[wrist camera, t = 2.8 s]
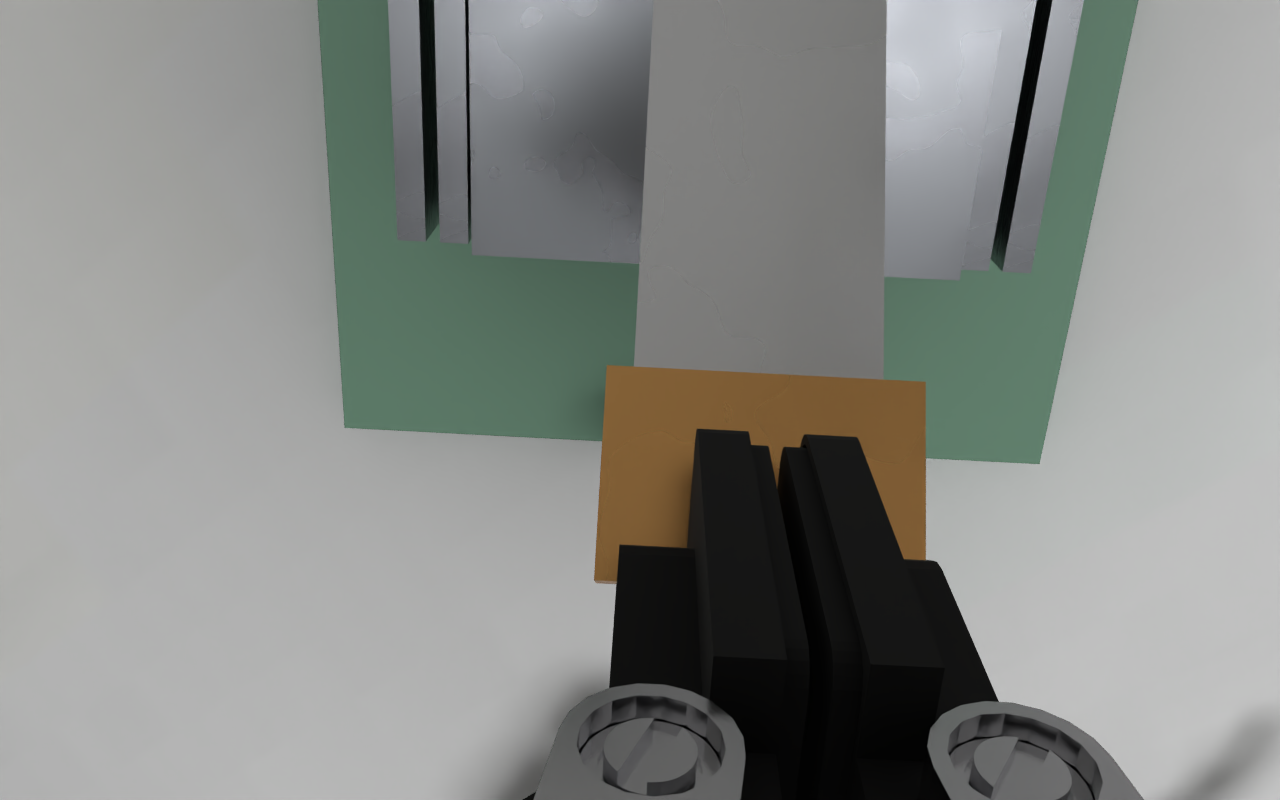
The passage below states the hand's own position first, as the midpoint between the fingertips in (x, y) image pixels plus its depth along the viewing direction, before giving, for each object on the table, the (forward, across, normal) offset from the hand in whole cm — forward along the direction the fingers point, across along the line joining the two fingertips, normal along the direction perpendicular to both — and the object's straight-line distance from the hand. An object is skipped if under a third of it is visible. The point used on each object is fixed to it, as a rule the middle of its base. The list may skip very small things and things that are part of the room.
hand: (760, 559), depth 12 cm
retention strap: (+6, 0, -6) cm, 9 cm away
